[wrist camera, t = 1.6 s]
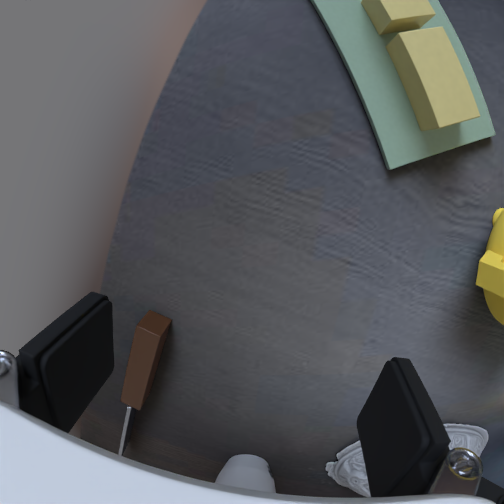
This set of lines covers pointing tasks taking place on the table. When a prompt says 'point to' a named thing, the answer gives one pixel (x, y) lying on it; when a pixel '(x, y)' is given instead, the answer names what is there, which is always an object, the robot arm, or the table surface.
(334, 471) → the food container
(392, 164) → the butter dish
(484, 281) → the teapot
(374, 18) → the block
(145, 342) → the knife
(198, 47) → the table surface
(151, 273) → the table surface
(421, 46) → the butter block
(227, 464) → the cup
